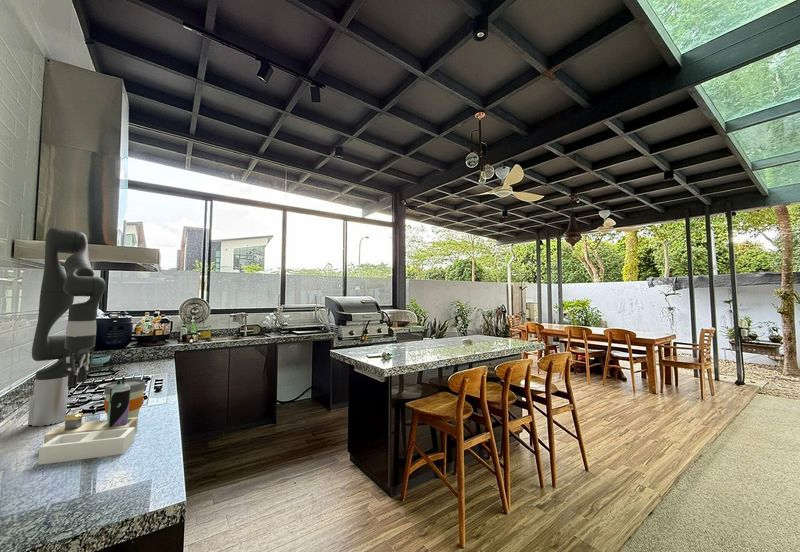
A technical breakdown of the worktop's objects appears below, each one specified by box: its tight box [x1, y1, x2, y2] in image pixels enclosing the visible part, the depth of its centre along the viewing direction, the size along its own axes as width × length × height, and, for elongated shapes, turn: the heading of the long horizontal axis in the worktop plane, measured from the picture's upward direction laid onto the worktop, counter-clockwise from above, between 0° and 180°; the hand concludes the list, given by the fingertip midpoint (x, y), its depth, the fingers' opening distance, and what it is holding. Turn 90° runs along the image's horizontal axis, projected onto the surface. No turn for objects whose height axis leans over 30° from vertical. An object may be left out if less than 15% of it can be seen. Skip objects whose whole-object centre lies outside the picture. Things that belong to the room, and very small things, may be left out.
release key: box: [64, 412, 84, 430], centre depth 109 cm, size 4×4×6 cm
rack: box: [37, 427, 136, 466], centre depth 103 cm, size 20×9×5 cm, turn 111°
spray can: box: [107, 379, 130, 427], centre depth 114 cm, size 6×6×20 cm
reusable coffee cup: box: [103, 378, 146, 420], centre depth 128 cm, size 13×13×15 cm
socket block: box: [43, 416, 139, 445], centre depth 111 cm, size 22×9×5 cm, turn 111°
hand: (76, 384), depth 110 cm, fingers open, 5 cm apart
